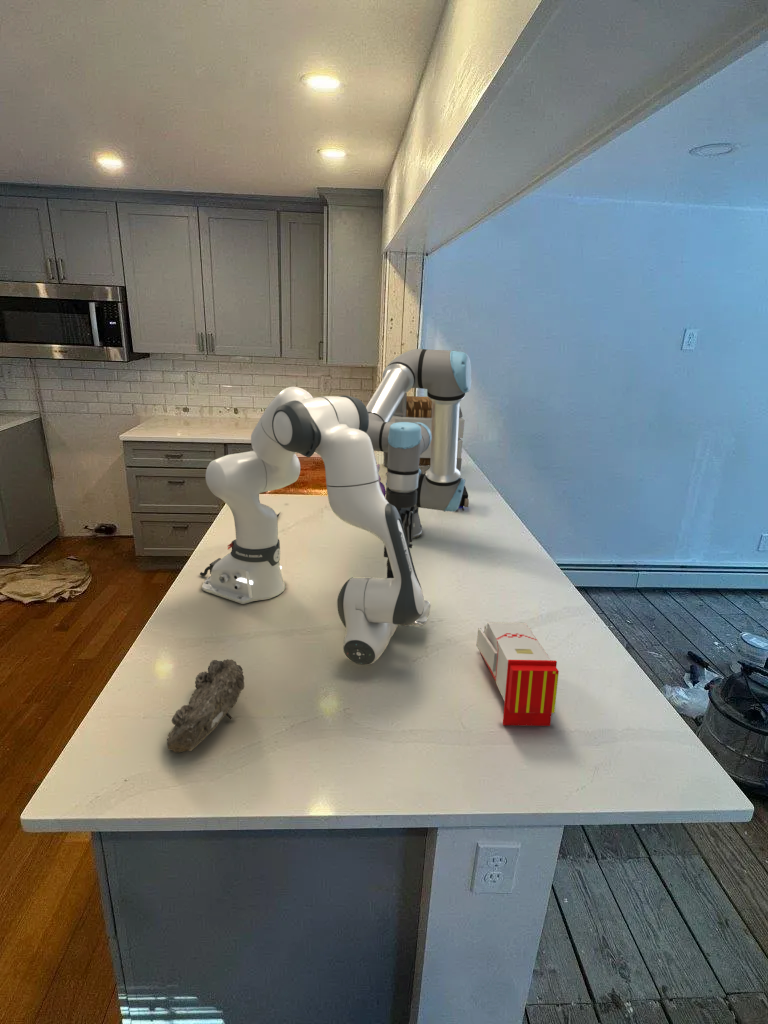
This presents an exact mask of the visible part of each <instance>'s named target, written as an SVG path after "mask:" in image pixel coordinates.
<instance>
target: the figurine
mask: <svg viewBox="0 0 768 1024" xmlns="http://www.w3.org/2000/svg"><path fill="white" fill-rule="evenodd" d="M377 468H378V475H379V484H380V488H381V491H382V493H383V495H384V497H385V498H386V486H385V485H384V484H383V482H382V481H381V480H382V479H381V475H380V473H379V471H380V469H381V465H380V464H379V463H378V464H377Z"/></svg>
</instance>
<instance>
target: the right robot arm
mask: <svg viewBox="0 0 768 1024" xmlns="http://www.w3.org/2000/svg"><path fill="white" fill-rule="evenodd" d="M472 375H473V374H472V363H471V359H470V357H469V355H468V353H466V352H463V351H458V350H453V349H452V350H451V349H450V350H449V349H448V350H447V349H425V348H415V349H410V350H407V351H405V352H403V353H401V354H399V355H398V356H396V357H395V358H394V359H392V360H391V361H390V362H389V363H388V364H387V365H386V367H385V368H384V370H383V372H382V379H381V381H380V383H379V385H378V386H377V388H376V390H375V391H374V392H373V395H372V396H371V398H370V400H369V401H368V403H367V405H365V407H366V409H367V411H368V415H369V426H368V430H367V432H366V434H367V435H368V436H369V437H370V439H371V443H372V446H373V449H374V452H383V453H384V452H388V466H386V467H387V469H386V472H385V476H386V482H385V490H386V495H385V498H386V500H387V501H388V503H389V504H391V505H393V506H395V507H396V509H397V511H398V513H399V515H400V518H401V521H402V524H403V527H404V531H405V534H406V538H407V542H408V546H409V549H413V546H414V545H413V544H412V543H413V540H415V539H418V538H420V537H421V536H422V535H423V525H422V524H421V518H420V515H419V508H420V509H428V510H436V511H443V512H452V513H454V512H457V511H458V510H459V508H458V507H459V505H460V501H461V498H462V494H463V490H464V486H466V485H465V484H466V479H464V478H463V477H461V474H460V471H459V470H458V469H457V468H456V464H457V445H458V426H459V407H460V408H461V404H460V403H461V401H463V399H465V397H466V393H469V392H470V390H471V387H472ZM412 389H420V390H421V389H424V390H426V391H427V392H426V397H428V398H429V399H431V400H432V420H431V431H430V429H429V428H428V427H427V426H426V425H425V424H423V423H420V422H415V423H410V422H398V423H390V420H391V418H392V416H393V414H394V412H395V411H396V409H397V407H398V405H399V403H400V401H401V400H402V398H403V396H404V394H405V393H407V394H408V393H409V392H410V391H411V390H412ZM430 443H431V459H430V466H429V468H428V469H427V470H426V471H425V473H422V469H421V468H420V466H419V460H420V455H421V454H422V453H423V452H424V451H426V450H427V448H428V446H429V445H430ZM456 510H457V511H456ZM383 557H384V558H387V559H388V563H387V562H386V578H394V576H393V572H392V569H391V565H390V561H389V557H388V554H387V550H386V547H385V545H383Z"/></svg>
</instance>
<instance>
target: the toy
mask: <svg viewBox="0 0 768 1024" xmlns="http://www.w3.org/2000/svg"><path fill="white" fill-rule="evenodd" d="M483 626H484V627H483V629H482V628H481V627H478V629H477V638H476V647H477V649H478V650H479V652H480V655H481V656H482V658H483V661H484V662H485V664H486V666H487V668H488V670H489V672H490V674H491V676H492V677H493V679H494V681H495V684H496V686H497V688H498V692H499V693H500V694H501V697H502V699H503V702H504V703H503V705H504V706H503V716H502V726H522V727H523V726H527V727H528V726H532V727H533V726H534V727H551V722H552V714H555V711H556V703H557V702H556V700H557V694H558V692H557V691H558V683H559V682H558V681H559V674H560V673H559V672H560V671H559V669H558V668H557V665H558V661H557V660H552V659H551V657H550V656H549V654H548V653H547V651H546V650H545V649H544V647H543V646H542V644H541V643H540V642H539V640H538V639H537V637H536V635H535V634H534V633H533V630H532V628H531V627H530V626H528V624H527V623H526V622H511V621H510V622H507V621H505V622H504V621H503V622H501V621H497V622H496V621H495V622H494V621H487V623H486V624H484V625H483Z"/></svg>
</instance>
